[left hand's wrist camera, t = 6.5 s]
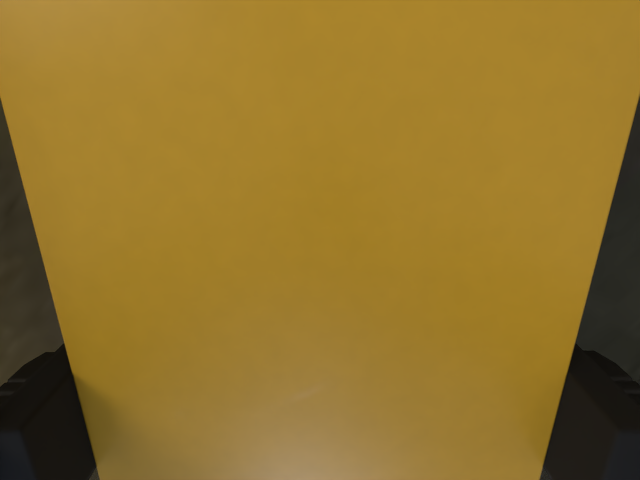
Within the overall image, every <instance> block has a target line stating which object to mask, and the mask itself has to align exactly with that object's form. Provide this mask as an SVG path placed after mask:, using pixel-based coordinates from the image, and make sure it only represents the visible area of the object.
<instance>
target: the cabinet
mask: <svg viewBox="0 0 640 480" xmlns="http://www.w3.org/2000/svg"><path fill="white" fill-rule="evenodd" d="M639 96H640V0H0V98H1V101H2V105H3V109H4V113H5V117H6V121H7V124H8V128H9V132H10V136H11V140H12V144H13V147H14V151H15V155H16V159H17V163H18V167H19V171H20V174H21V178H22V182H23V186H24V190H25V194H26V197H27V201H28V205H29V209H30V213H31V217H32V220H33V224H34V228H35V232H36V236H37V240H38V244H39V247H40V251H41V255H42V259H43V263H44V267H45V270H46V274H47V278H48V282H49V286H50V290H51V293H52V297H53V301H54V305H55V309H56V313H57V317H58V320H59V324H60V328H61V332H62V336H63V340H64V343H65V347H66V351H67V355H68V359H69V363H70V367H71V370H72V374H73V378H74V382H75V386H76V390H77V393H78V397H79V401H80V405H81V409H82V413H83V416H84V420H85V424H86V428H87V432H88V436H89V440H90V443H91V447H92V451H93V455H94V459H95V463H96V466H97V470H98V474H99V478H100V480H540V476H541V472H542V468H543V464H544V461H545V457H546V453H547V449H548V445H549V441H550V438H551V434H552V430H553V426H554V422H555V418H556V415H557V411H558V407H559V403H560V399H561V395H562V392H563V388H564V384H565V380H566V376H567V372H568V369H569V365H570V361H571V357H572V353H573V349H574V345H575V342H576V338H577V334H578V330H579V326H580V322H581V319H582V315H583V311H584V307H585V303H586V299H587V296H588V292H589V288H590V284H591V280H592V276H593V273H594V269H595V265H596V261H597V257H598V253H599V250H600V246H601V242H602V238H603V234H604V230H605V227H606V223H607V219H608V215H609V211H610V207H611V204H612V200H613V196H614V192H615V188H616V184H617V180H618V177H619V173H620V169H621V165H622V161H623V157H624V154H625V150H626V146H627V142H628V138H629V134H630V131H631V127H632V123H633V119H634V115H635V111H636V108H637V104H638V100H639Z"/></svg>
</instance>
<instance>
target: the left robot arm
mask: <svg viewBox="0 0 640 480" xmlns="http://www.w3.org/2000/svg"><path fill="white" fill-rule="evenodd" d="M543 467H544V469H545V471H546V472H547V474H548V476H549V477H550V479H551V480H640V385H639V384H638V383H637V382H635V381H632V378H631V377H630V376H629V375H628V374H627V373H626V372H625V371H623V370H622V369H621V368H620V367H619V366H618V365H617V364H616V363H614V362H612V361H611V360H609V359H607V358H606V357H604V356H602V355H600V354H599V353H597V352H595V351H583V350H582V349H581V348H580V347H579V346H578V345H577V344H576V343H575V345H574V349H573V353H572V357H571V361H570V365H569V369H568V372H567V376H566V380H565V384H564V388H563V392H562V395H561V399H560V403H559V407H558V411H557V415H556V418H555V422H554V426H553V430H552V434H551V438H550V441H549V445H548V449H547V453H546V457H545V461H544V464H543ZM95 468H96V463H95V459H94V455H93V451H92V447H91V443H90V440H89V436H88V432H87V428H86V424H85V420H84V416H83V413H82V409H81V405H80V401H79V397H78V393H77V390H76V386H75V382H74V378H73V374H72V370H71V367H70V363H69V359H68V355H67V351H66V347H65V343H64V344H63V345H62V346H61V347H60V348H59V349H58V350H57V351H56V352H45V353H44V354H42V355H40V356H39V357H37V358H35V359H33V360H32V361H30V362H28V363H27V364H25V365H24V366H22V367H21V368H20V369H19V370H18V371H17V372H16V373H15V374H14V375H13V376H12V377H11V378H9V379H8V382H7V383H4V384H3V385H2V386H1V387H0V480H89V478H90V477H91V475H92V473H93V471H94V470H95Z"/></svg>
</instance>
